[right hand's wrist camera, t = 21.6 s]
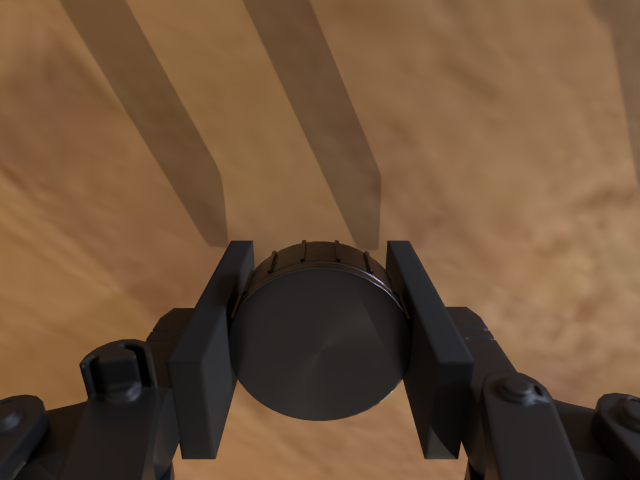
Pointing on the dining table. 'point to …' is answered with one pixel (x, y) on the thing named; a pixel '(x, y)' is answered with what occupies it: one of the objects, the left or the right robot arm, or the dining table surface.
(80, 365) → the right robot arm
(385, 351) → the lid
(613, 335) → the dining table surface
